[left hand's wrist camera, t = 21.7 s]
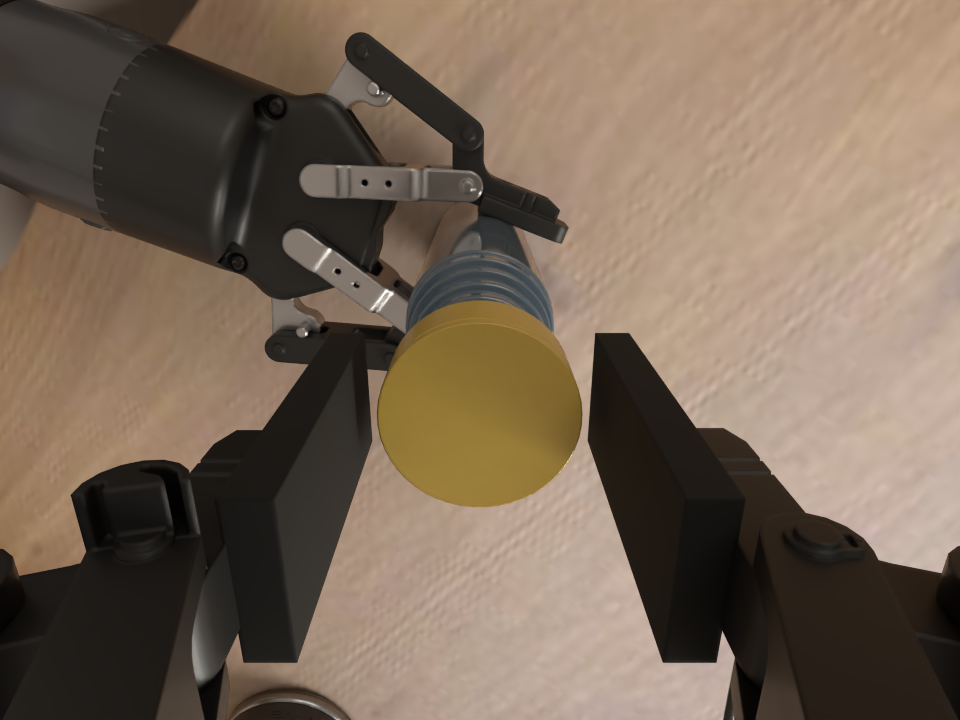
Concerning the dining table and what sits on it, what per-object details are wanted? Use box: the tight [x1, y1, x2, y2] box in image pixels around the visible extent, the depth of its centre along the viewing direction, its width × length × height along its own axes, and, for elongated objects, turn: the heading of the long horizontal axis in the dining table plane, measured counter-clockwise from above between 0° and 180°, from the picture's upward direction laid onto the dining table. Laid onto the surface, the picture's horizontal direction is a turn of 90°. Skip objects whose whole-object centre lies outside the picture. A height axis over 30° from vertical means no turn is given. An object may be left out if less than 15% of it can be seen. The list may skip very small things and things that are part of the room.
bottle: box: [406, 202, 554, 334], centre depth 23 cm, size 4×4×20 cm
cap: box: [377, 300, 582, 507], centre depth 14 cm, size 4×4×2 cm
